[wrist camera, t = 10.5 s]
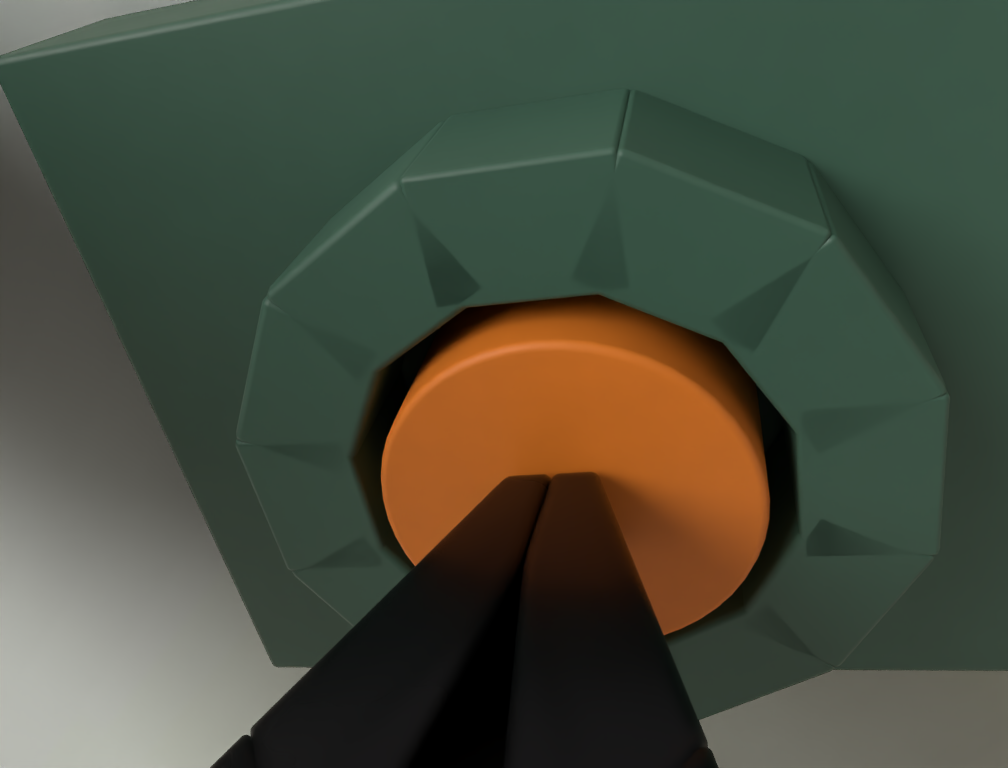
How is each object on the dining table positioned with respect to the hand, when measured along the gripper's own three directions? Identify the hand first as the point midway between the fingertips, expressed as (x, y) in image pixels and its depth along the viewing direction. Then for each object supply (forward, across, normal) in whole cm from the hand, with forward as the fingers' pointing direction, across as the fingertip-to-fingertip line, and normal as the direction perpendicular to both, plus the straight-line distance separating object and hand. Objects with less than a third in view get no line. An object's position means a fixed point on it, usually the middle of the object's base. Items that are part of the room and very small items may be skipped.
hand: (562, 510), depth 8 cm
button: (+2, 0, 0) cm, 2 cm away
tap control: (+4, 0, 0) cm, 4 cm away
